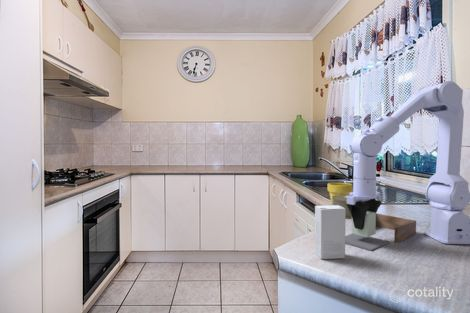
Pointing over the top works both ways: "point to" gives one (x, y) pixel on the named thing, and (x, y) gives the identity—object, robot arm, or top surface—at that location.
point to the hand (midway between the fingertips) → (363, 227)
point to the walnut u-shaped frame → (397, 226)
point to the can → (342, 204)
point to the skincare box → (330, 231)
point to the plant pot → (339, 189)
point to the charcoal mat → (364, 242)
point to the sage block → (366, 225)
